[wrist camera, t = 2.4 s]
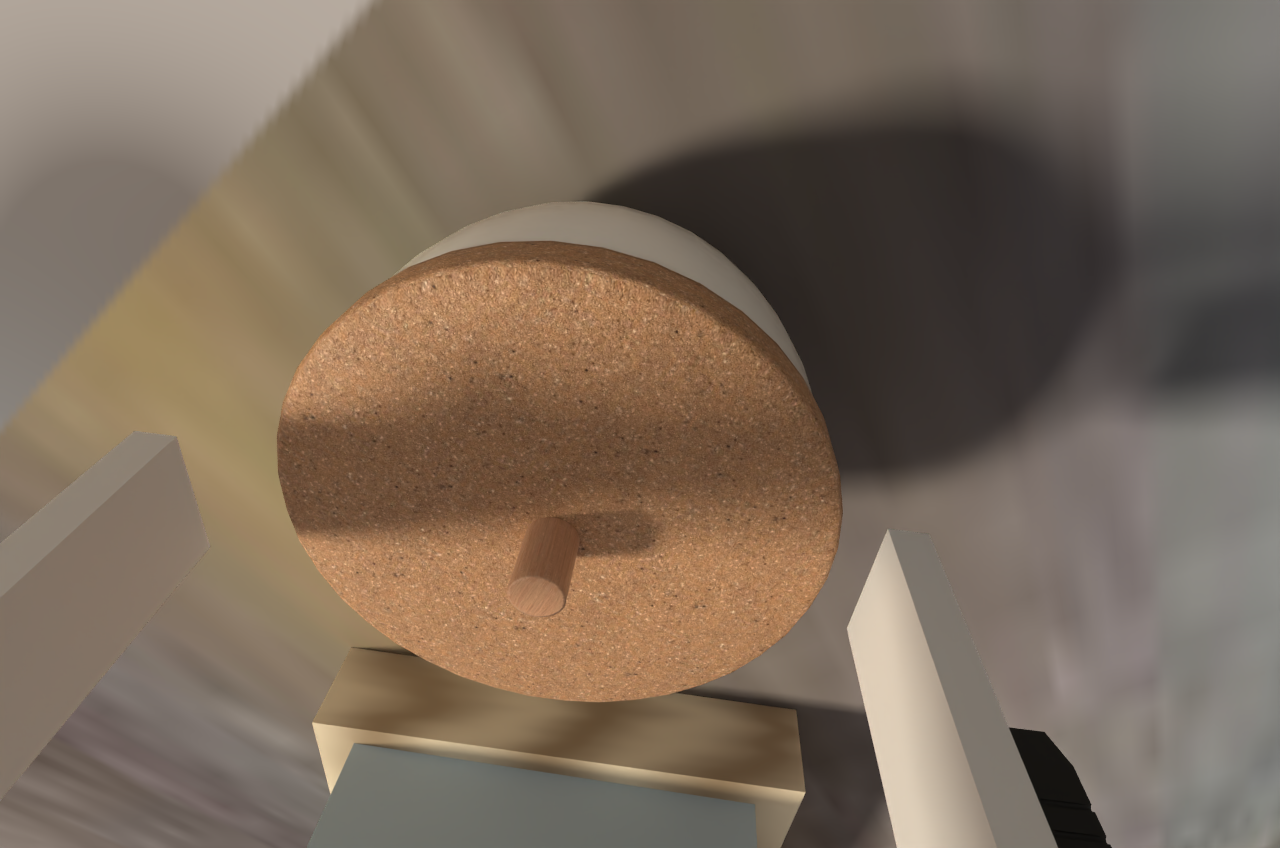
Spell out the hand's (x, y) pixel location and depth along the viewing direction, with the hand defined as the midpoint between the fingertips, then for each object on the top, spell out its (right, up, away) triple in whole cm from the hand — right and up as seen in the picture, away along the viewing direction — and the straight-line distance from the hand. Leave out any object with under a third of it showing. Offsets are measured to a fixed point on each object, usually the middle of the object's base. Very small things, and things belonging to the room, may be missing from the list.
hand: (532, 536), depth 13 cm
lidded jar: (+1, +4, +7) cm, 8 cm away
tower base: (-2, -15, +20) cm, 25 cm away
